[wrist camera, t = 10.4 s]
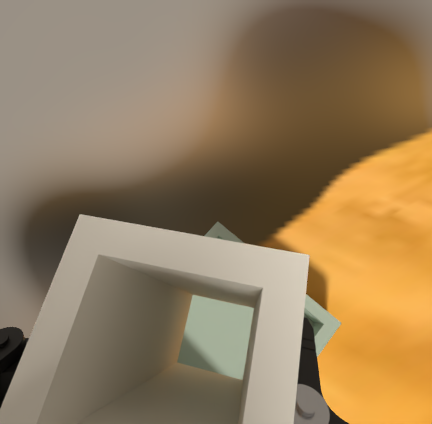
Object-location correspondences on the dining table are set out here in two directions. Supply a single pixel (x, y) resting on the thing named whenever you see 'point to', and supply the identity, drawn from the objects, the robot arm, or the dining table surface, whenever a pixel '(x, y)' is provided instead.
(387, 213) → the dining table surface
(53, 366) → the sleeve
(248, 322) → the tray
